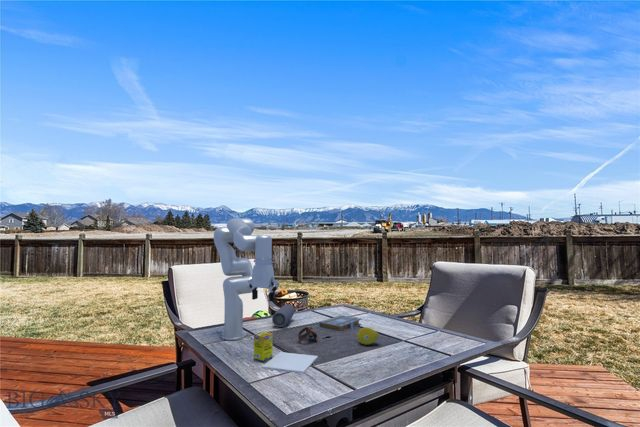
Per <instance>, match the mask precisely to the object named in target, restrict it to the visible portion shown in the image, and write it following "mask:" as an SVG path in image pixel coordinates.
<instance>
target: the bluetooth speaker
mask: <svg viewBox="0 0 640 427" xmlns="http://www.w3.org/2000/svg"><path fill="white" fill-rule="evenodd" d="M294 314H295V309H294V307H293V305H291V304H284V305H283V306H281V307H280V308H279V309H277V311H276V312H275V313H274V314H273V316H272V318H271V321H272V324H273V325H274V327H276V328H283V327H285V326H286V325H287V324H288V323H289V322H290V321H291V320H292V318H293V317H294Z"/></svg>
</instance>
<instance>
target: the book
mask: <svg viewBox="0 0 640 427" xmlns="http://www.w3.org/2000/svg"><path fill="white" fill-rule="evenodd" d="M361 320H362V318H358V317H353V316H347V315H341V314H340V315H337V316H334V317H331V318H328V319H324V320H322V321H318V324H317V326H318V329H320V330H325V331H330V332H334V333H337V334H338V333H339V334H343V333H345V332H348V331H350V330H354V329H355V328H358V327H360V325H361V326H362V323H359V321H361Z"/></svg>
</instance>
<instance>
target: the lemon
mask: <svg viewBox="0 0 640 427" xmlns="http://www.w3.org/2000/svg"><path fill="white" fill-rule="evenodd" d="M379 335H380V334H379V333H378V332H377V331H376V330H374V329H373V328H370V327H362V328H360V329H359V330H358V333H356V337H357V340H358V342H359V343H360V344H362V345H364V346H369V345H372V344H374V343H375V342H376V341H377V340H378V339H379Z"/></svg>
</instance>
